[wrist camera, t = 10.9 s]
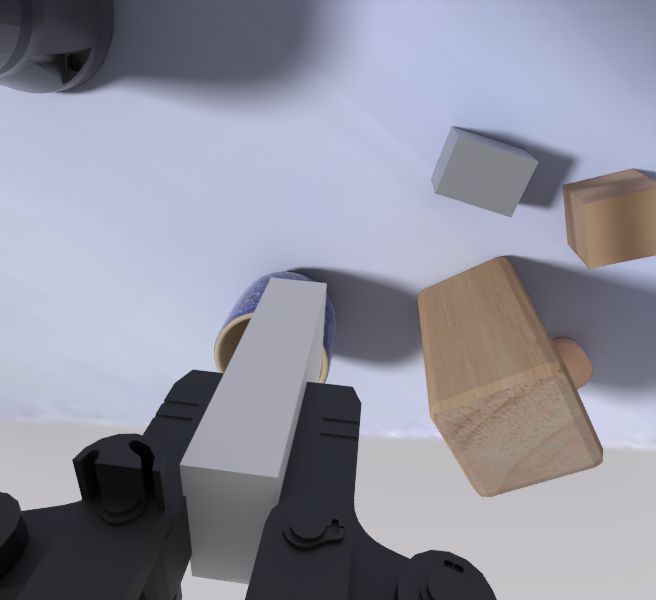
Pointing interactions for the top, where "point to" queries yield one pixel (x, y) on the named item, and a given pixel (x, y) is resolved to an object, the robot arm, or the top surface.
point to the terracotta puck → (574, 360)
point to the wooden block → (501, 383)
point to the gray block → (482, 172)
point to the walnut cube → (611, 218)
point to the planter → (242, 317)
